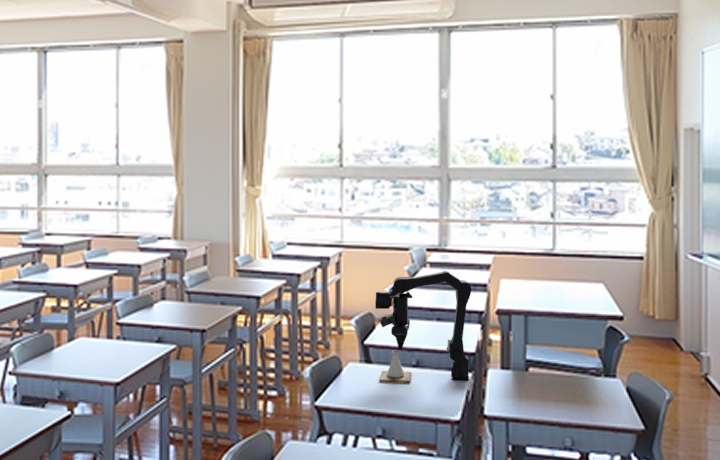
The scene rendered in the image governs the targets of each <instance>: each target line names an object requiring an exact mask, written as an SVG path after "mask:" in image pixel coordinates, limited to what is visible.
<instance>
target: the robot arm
mask: <svg viewBox="0 0 720 460" xmlns="http://www.w3.org/2000/svg"><path fill="white" fill-rule="evenodd" d="M440 283H446V284H448V285H449V286H450V287H452V288H453V289H455V290H454V291H455V299H456V305H455V314H454V315H455V316H454V323H453V324H454V325H453V331H452V337H451V339H447V347H446V351H447V353H448V355H449V358H450V359H451V361H452V365H451V368H450V369H451V371H450V377H451V378H452V380H453V381H469V380H470V379H469V378H470V376H469V364H470V360H469V358H468V356H467V354H466V353H465V348H464V341H463V340H464V339H463V336H464V329H465V319H466V311H467V305H468V303H469V300H470V296H471V293H472V286H471V285H470V284H469V282H468V281H466V280H464V279H462V280H461V279H459V278H457V276H454V275H453V274H451V273H450V272H449V271H446V270H443V271H441V272H435V273H430V274H426V275H425V274H424V275H421V276H420V275H419V276H415V277H413V276H398V277H396V278H394V281H393V285H392V287H391V288H390V289H389V291H387V292H385V291H384V292H383V291H376V292H375V299H374V300H375V309H376V310H389V309H390V308H391V307H393V311H392V313H391V314H388V315H385V316H382V317H380V318H379V324H380V325H381V328H385V327H386V326H389V325H392V327H391V332H390V333H391V334H392V336H393V337H395V339H396V344H397V348H398V351H401V350H402V349H403V346H404V345H405V341H406V339H407V336H408V331H409V328H410V319H409V309H408V307H409V304H408V303H409V299H413V295H412V294H411V293H410V291H411V290H413V289H415V288H418V287H425V286H429V285H430V286H431V285H434V284H440Z"/></svg>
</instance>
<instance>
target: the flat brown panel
mask: <svg viewBox="0 0 720 460" xmlns="http://www.w3.org/2000/svg"><path fill="white" fill-rule="evenodd" d="M403 372H404V376H402V377H399V378H397V377H389V376H387V373H388V370H382V371H381V375H380V377H379V383H383V384H384V383H385V384H386V383H388V384H391V383H392V384H411V379H412V371H403Z"/></svg>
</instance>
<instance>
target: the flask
mask: <svg viewBox="0 0 720 460" xmlns="http://www.w3.org/2000/svg"><path fill="white" fill-rule="evenodd" d="M399 353H400V350H391V355H392V357H391V361H390V365H389V367H388V370H387V371H388V373H387V376H389V377H397V378H399V377H402V376H404V372H405V371H404V369H403V366H402V364H401V361H400V356H399Z"/></svg>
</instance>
